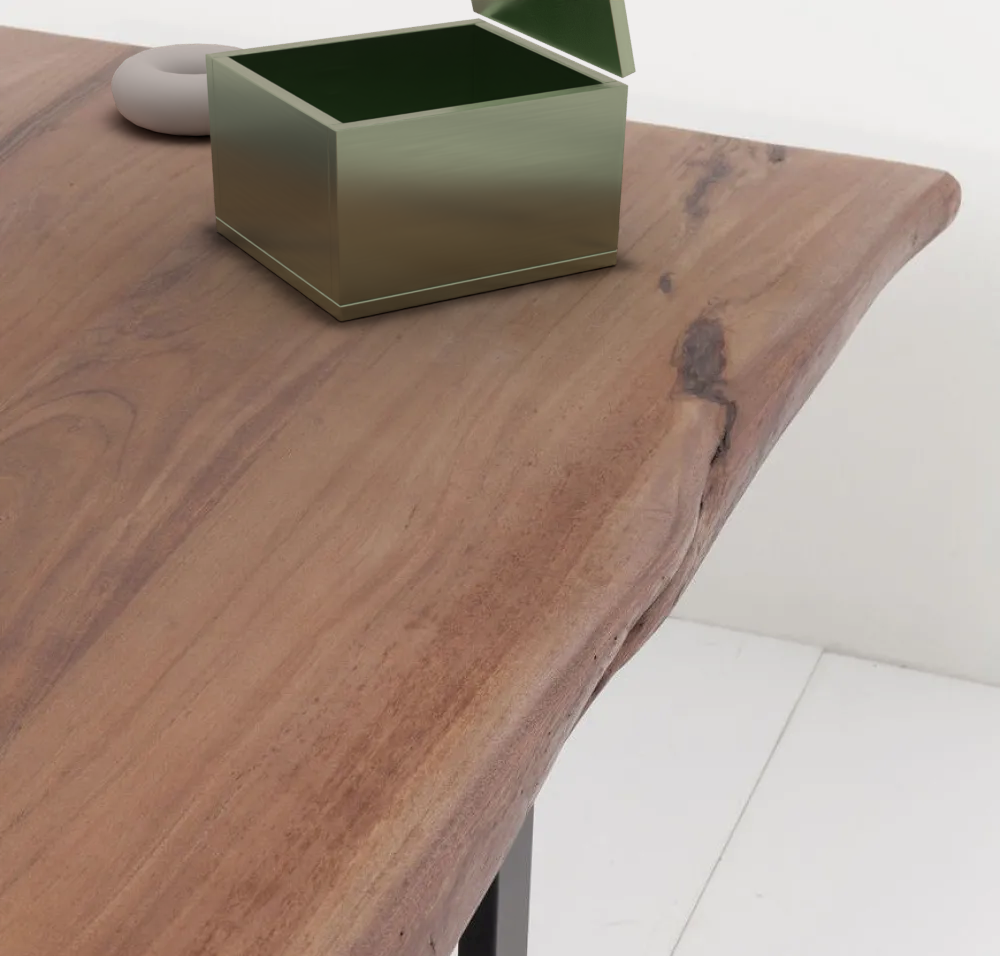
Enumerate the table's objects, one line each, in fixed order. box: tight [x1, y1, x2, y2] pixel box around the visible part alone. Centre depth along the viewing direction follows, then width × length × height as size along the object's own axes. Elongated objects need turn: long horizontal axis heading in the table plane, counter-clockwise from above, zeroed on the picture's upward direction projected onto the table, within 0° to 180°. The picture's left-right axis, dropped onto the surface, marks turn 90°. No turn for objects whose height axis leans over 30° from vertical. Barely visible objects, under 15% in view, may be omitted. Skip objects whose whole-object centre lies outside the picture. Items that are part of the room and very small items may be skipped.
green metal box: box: [205, 17, 629, 322], centre depth 93 cm, size 16×14×9 cm
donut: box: [110, 43, 243, 137], centre depth 111 cm, size 10×4×10 cm
